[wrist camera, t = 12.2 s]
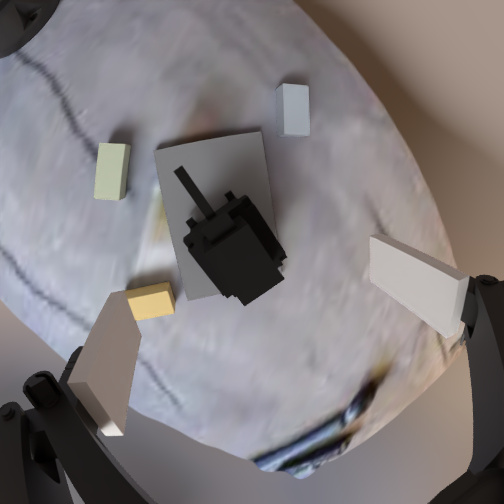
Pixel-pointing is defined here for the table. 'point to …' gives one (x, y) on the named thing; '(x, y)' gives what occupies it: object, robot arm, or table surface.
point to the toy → (233, 245)
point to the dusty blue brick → (292, 110)
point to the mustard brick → (151, 301)
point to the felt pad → (211, 192)
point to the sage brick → (111, 171)
